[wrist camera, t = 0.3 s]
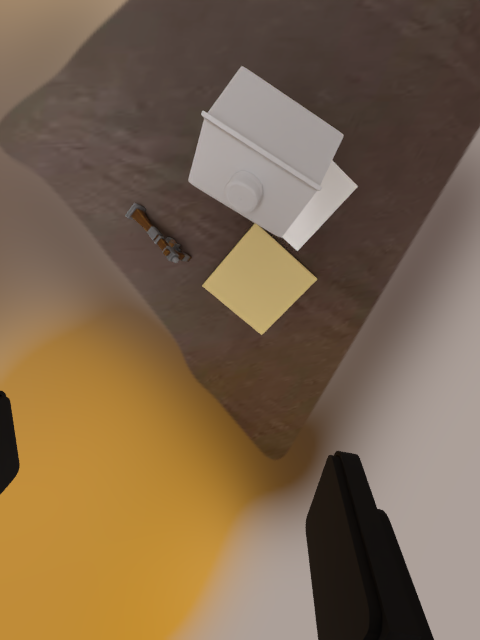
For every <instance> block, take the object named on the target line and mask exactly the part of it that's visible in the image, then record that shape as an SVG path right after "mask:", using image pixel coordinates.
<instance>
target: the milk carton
mask: <svg viewBox="0 0 480 640" xmlns="http://www.w3.org/2000/svg"><path fill="white" fill-rule="evenodd" d="M201 115H202V116H203V117H204V121H203V125H202V129H201V133H200V137H199V141H198V145H197V148H196V152H195V156H194V160H193V164H192V168H191V171H190V175H189V179H188V181H189V182H190V183H191V184H192V185H194V186H195V187H197V188H198V189H200V190H201V191H203V192H205V193H206V194H208V195H209V196H211V197H213V198H214V199H216V200H218V201H219V202H221V203H223V204H224V205H226V206H228V207H229V208H231V209H233V210H234V211H236V212H237V213H239V214H241V215H242V216H244V217H246V218H247V219H249V220H251V221H252V222H254V223H256V224H257V225H259V226H260V227H262V228H264V229H265V230H267V231H269V232H271V233H272V234H274V235H276V236H278V237H282V236H283V235H284V234H285V232H286V231H287V230H288V228H289V227H290V226H291V224H292V223H293V222H294V221H295V219H296V218H297V217H298V215H299V214H300V213H301V211H302V210H303V209H304V207H305V206H306V205H307V204H308V202H309V201H310V200H311V198H312V197H313V196H314V194H315V193H316V192H317V191H320V190H321V189H322V187H321V186H320V185H321V183H322V180H323V178H324V176H325V174H326V172H327V170H328V168H329V166H330V164H331V162H332V159H333V157H334V155H335V153H336V151H337V149H338V147H339V145H340V143H341V141H342V138H343V136H344V135H343V134H342V133H341V132H339V131H338V130H336V129H335V128H334V127H332V126H331V125H329V124H328V123H326V122H325V121H323V120H322V119H320V118H319V117H317V116H316V115H314V114H313V113H311V112H310V111H309V110H307V109H306V108H304V107H303V106H301V105H300V104H298V103H297V102H295V101H294V100H292V99H291V98H289V97H288V96H286V95H285V94H283V93H282V92H281V91H279V90H278V89H276V88H275V87H273V86H272V85H270V84H269V83H267V82H266V81H264V80H263V79H261V78H260V77H258V76H257V75H255V74H254V73H252V72H251V71H249V70H248V69H246V68H245V67H243V66H241V67H240V69H239V70H238V72H237V73H236V74H235V76H234V77H233V78H232V80H231V81H230V83H229V84H228V85H227V87H226V88H225V89H224V91H223V92H222V94H221V95H220V96H219V98H218V99H217V100H216V102H215V103H214V105H213V106H212V107H211V109H210V110H209V112H208V113H206V112H205V111H202V113H201Z"/></svg>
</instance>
